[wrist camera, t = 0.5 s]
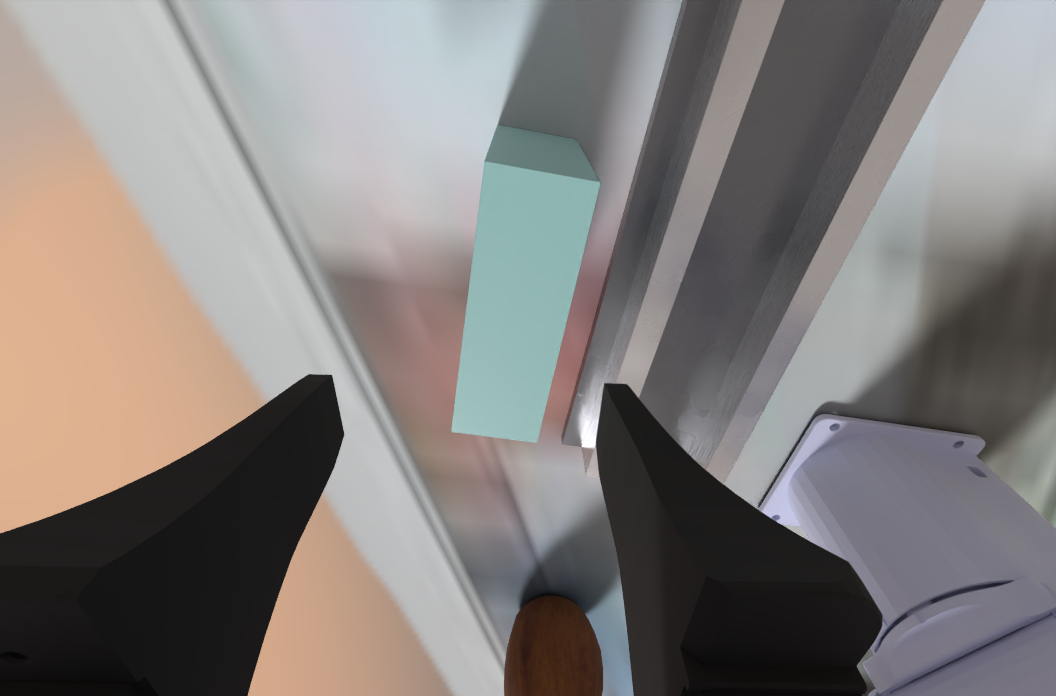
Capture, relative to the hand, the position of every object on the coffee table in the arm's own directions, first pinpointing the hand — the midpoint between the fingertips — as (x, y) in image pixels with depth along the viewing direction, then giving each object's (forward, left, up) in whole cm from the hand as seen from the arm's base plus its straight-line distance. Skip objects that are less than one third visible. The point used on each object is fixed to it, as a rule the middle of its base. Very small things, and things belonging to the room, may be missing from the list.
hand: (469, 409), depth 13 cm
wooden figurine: (-7, +25, -10) cm, 27 cm away
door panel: (-1, -1, -10) cm, 10 cm away
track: (-9, -2, -9) cm, 14 cm away
